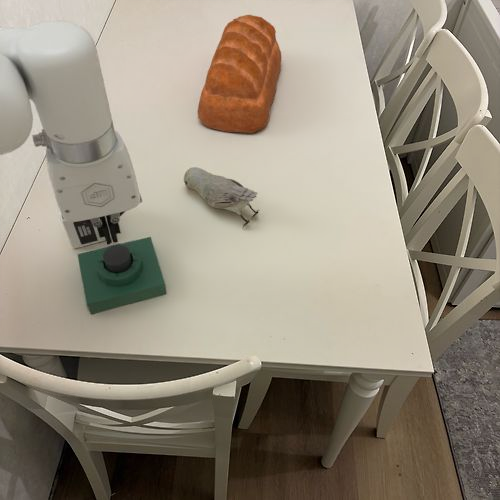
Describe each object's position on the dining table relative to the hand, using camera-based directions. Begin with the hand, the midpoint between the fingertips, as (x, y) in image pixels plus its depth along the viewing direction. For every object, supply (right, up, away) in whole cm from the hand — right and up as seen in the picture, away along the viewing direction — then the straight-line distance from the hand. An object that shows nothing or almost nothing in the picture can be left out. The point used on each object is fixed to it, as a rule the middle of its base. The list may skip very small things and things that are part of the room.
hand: (110, 236), depth 71 cm
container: (-8, +2, +15) cm, 17 cm away
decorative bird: (+15, +6, +20) cm, 25 cm away
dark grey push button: (0, -4, +5) cm, 7 cm away
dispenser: (0, -7, +9) cm, 11 cm away
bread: (+18, +35, +42) cm, 58 cm away
